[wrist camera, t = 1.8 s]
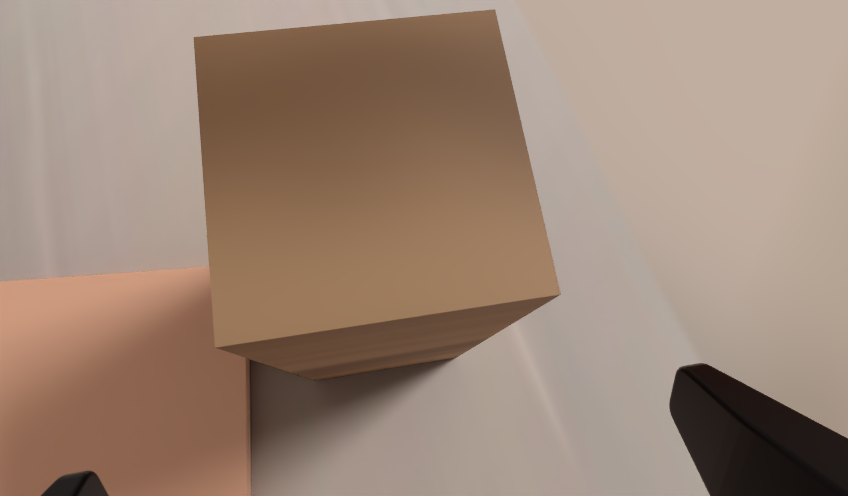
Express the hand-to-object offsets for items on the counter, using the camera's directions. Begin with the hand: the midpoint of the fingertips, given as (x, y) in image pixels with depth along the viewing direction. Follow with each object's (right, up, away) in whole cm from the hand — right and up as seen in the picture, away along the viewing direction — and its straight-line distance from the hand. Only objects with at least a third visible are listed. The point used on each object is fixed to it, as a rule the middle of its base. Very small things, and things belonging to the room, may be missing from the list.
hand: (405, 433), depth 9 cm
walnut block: (-1, +1, +11) cm, 12 cm away
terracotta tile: (-11, -3, +9) cm, 15 cm away
